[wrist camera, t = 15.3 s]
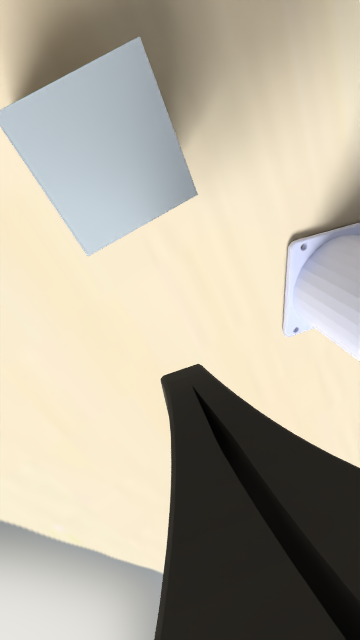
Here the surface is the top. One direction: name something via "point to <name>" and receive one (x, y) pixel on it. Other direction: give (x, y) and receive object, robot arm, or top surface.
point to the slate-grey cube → (102, 147)
